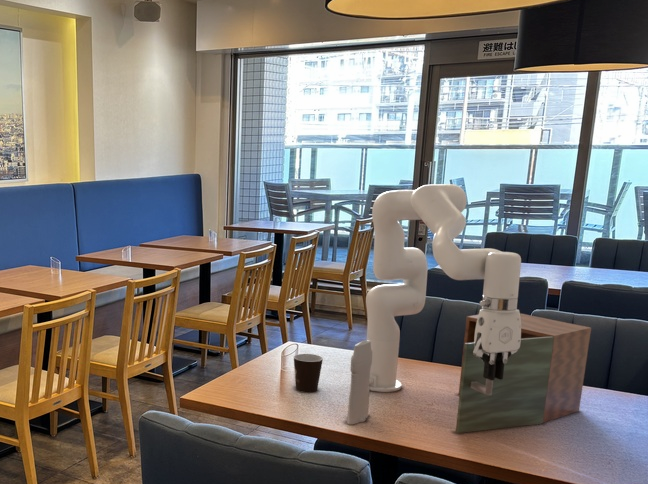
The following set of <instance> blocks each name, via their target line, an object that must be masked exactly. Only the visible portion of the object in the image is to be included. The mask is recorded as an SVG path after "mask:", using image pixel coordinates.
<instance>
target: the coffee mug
mask: <svg viewBox="0 0 648 484" xmlns="http://www.w3.org/2000/svg"><path fill="white" fill-rule="evenodd" d="M323 361H324V358H323V356H321V355H318V354H314V353H298V354H295V355H294V356H293V365H294V378H295V379H294V381H295V382H294V383H295V390H296V391H298V392H301V393H316V392H317V391H318V388H319V383H320V376H321V371H322V366H323Z"/></svg>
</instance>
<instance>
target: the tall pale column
mask: <svg viewBox="0 0 648 484" xmlns="http://www.w3.org/2000/svg"><path fill="white" fill-rule="evenodd" d="M372 353H373V351H372V350H371V342H370V340H367V339H366V340H361V341H360V342H357V343H355V345H354V348H353V353H352V355H351V358H350V370H349V371H350V389H349V396H348V405H347V418H346V419H347V420H346V421H347V422H346V423H347V425H356V424H358V423H363V422H365V421H366V419H367V418H368V416H369V406H370V405H369V404H370V390H369V379H370V369H371V365H372Z"/></svg>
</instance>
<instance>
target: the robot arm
mask: <svg viewBox="0 0 648 484" xmlns="http://www.w3.org/2000/svg"><path fill="white" fill-rule="evenodd" d="M467 199H468V198H467V195H466V192H465V190H464V189H463V188H462V187H461V186H459V185H457V184H453V183H442V184H441V183H440V184H439V183H437V184H436V183H435V184H424V185H422V186H420V187H418V188H417V189H397V190H389V191H385V192H382V193H380V194H379V195H378V196H377V197H376V199H375V200H374V202H373V205H372V210H371V211H372V212H371V216H372V224H373V230H374V231H373V232H374V241H373V259H372V270H373V275H374V276H375V278H376V279H377V280H380V281H402V283H393V284H392V283H391V284H381V285H380V284H379V285H376V286H374V287H372V288H370V289H369V290H368V291H367V293H366V296H365V307H366V316H367V317H366V318H367V327H366V341H367V340H370V342H371V350H372V351H373V353H372V365H371V369H370V379H369V391H372V392H378V393H391V392H398V391H400V390H401V389H402V383H401V382H400V381H399V380H397V376H398V364H399V351H400V341H401V340H400V339H401V330H400V326H399V324H398V323H397V321H396V319H395V317H400V316H401V317H402V316H412V315H417V314H419V313H421V312H422V311H423V309H424V307H425V304H426V298H427V283H428V271H429V270H428V269H429V268H428V260H427V259H428V258H427V256H426V254H425V253H424V251H422V250H421V249H420V248H417V247H405V240H406V233H405V230H404V228H403V226H402V224H401V223H400V221H422V222H423V223H424V224H425V226H426V227H427V228H428V229H429V231H430V232H431V233H432V235H433V238H432V242H431V243H432V244H431V246H432V247H431V249H432V254H433V258H434V261H435V262H436V263H437V265H438V266H439V267H440V269H441V270H442V271H443V272H444V273H445V275H447V276H448V277H449V278H450V279H452V280H455V281H473V280H483V289H482V300H480V301H479V306H480V307H481V309H479V311H478V314H479V315H478V314H477V315H478V319H477V323H476V328H475V336H474V347H475V348H474V351H473V354H474V355H476V356H479V357H480V358H481V359H482V361H483V362H484V373H483V377H484V378H486V379H489V380H494V379H495V378H497V379H500V380H501V379H503V373H504V363H506V362H507V359H508V358H509V357H510V355H512V354H514V353H516V352H517V351H518V349H519V348H520V343H521V318H520V314H521V312H520V309H518V299H519V289H520V278H521V269H522V268H521V267H522V258H521V257H522V256H521V255H520V254H519V253H516V252H511V251H501V250H499V249H496V248H491V247H489V248H488V247H487V248H463V249H460V248H459V246H457V245H456V243H455V242H454V241H453V240H454V239H456V238H457V237H458V236H459V235H461V233H462V232H463V231H464V229H465V228H466V225H467V220H466V217H465V215H464V214H463V211H464V210H465V209H466V207H467V203H468V200H467ZM482 349H483V352H482ZM501 352H502V353H501ZM495 353H496V354H495ZM488 354H489V356H488ZM495 355H496V361H495V364H494V357H495Z"/></svg>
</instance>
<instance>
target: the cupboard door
mask: <svg viewBox="0 0 648 484" xmlns="http://www.w3.org/2000/svg"><path fill="white" fill-rule="evenodd" d="M553 342H554V337H552V336H549V337H536V338H524V339H521V343H520V348H519V349H518V351H517V352H516V353H514V354H512V355H510V357H509V358H508V359H507V362H506V363H504V373H503V379H501V380H500V379H497V378H495V379H494V380H489V379H486V378H484V377H483V373H484V362H483V361H482V359H481V358H480V357H479V356H476V355H474V354H473V351H474V348H475V347H474V342H473V343H465V347H464V346H463V347H464V357H463V356H462V357H463V367H462V366H461V367H462V376H461V375H460V376H461V386H460V385H459V386H460V395H459V394H458V406H457V415H456V425H455V432H456V434H462V433H470V432H479V431H489V430H497V429H506V428H515V427H522V426H523V427H525V426H532V425H533V426H534V425H540V424H543V423H544V422H543V416H544V409H545V401H546V394H547V386H548V379H549V372H550V364H551V357H552V350H553ZM482 352H483V349H482ZM501 353H502V352H501ZM495 354H496V353H495ZM488 356H489V354H488ZM495 361H496V355H495V357H494V364H495Z"/></svg>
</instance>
